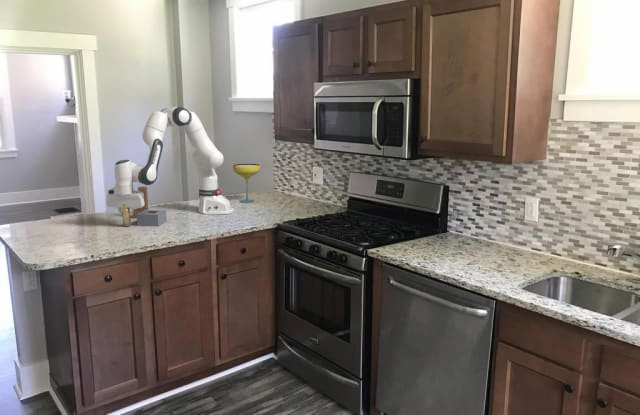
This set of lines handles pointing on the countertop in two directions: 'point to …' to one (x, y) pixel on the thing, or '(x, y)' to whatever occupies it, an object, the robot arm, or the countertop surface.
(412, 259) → the countertop surface
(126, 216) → the brass pin
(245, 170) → the cocktail glass
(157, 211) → the hole holder
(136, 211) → the wooden block
